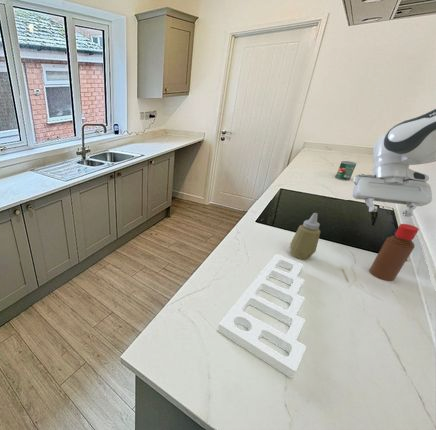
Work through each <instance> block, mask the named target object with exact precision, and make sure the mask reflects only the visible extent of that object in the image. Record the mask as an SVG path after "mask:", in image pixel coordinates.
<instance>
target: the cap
mask: <svg viewBox="0 0 436 430" xmlns="http://www.w3.org/2000/svg"><path fill="white" fill-rule="evenodd" d="M418 232H419V228H418V227H417V226H415V225H412V224H408V223H400V224H399V226H398V227H397V229H396V231H395V233H394V235H395V236H397V237H399V238H402V239H405V240H412V241H413V240H414V239H415V237H416V235H417V233H418Z"/></svg>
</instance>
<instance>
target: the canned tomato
mask: <svg viewBox="0 0 436 430" xmlns="http://www.w3.org/2000/svg"><path fill="white" fill-rule="evenodd" d="M356 166H357V162H355V161H354V162H353V161H350V160H349V161H346V160H342V161H340V164H339V166H338V169H337V172H336V174H335V179H337V180H341V181H350V180H351V177H352V175H353V173H354V170H355V169H356Z"/></svg>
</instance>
